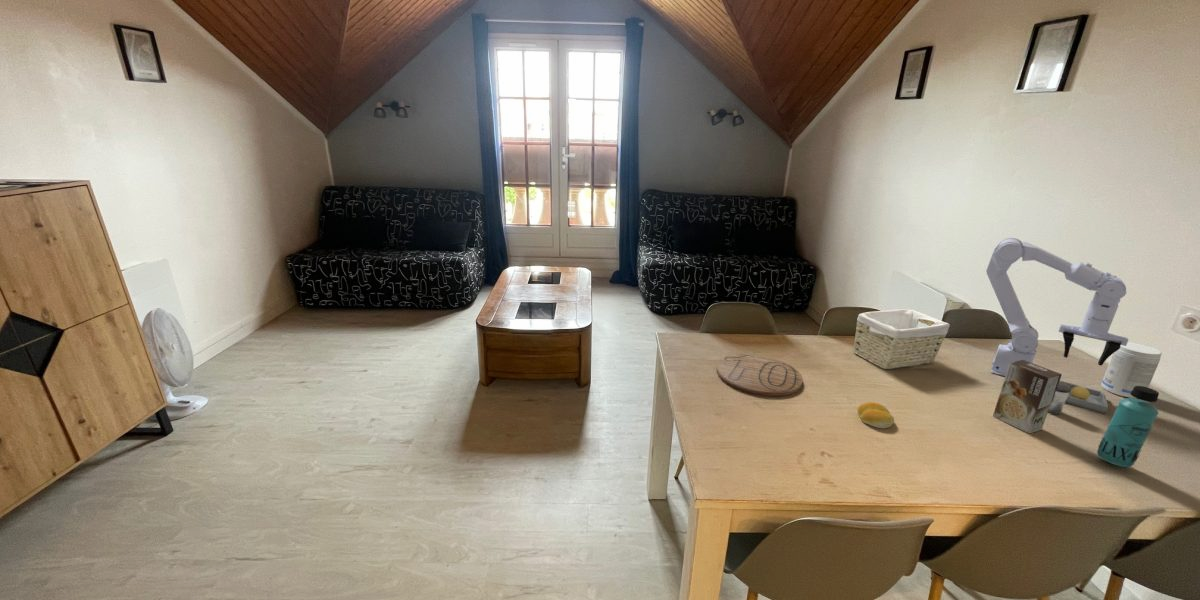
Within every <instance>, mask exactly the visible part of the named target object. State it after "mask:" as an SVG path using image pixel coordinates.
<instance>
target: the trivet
mask: <svg viewBox="0 0 1200 600" xmlns="http://www.w3.org/2000/svg"><path fill="white" fill-rule="evenodd" d="M716 374H717V376H718V378H719V379H720V380H721V381H723V383H725V384H726V385H727V386H729V387H731V388H733V389H736V390H738V391H740V392H743V393H745V394H749V395H754V396H759V397H766V398H767V397H769V398H782V397H787V396H791V395H794V394H796V393H798V391H800V390H801V388H802V386H803V375H802V373H800V372H799V371H798V370H797V369H796V368H794V367H793V365H791V364H789V363H786V362H785V361H783V360H779V359H777V358H774V357H771V356H766V355H762V354H757V353H735V354H731V355H730V354H729V355H726V356H724V357H722V358H721V359H719V361H718V362H717V365H716Z"/></svg>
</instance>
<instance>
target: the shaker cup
mask: <svg viewBox="0 0 1200 600" xmlns="http://www.w3.org/2000/svg"><path fill="white" fill-rule="evenodd" d="M1060 381H1061V380H1060ZM1060 381H1059V384H1058V386H1057V389H1056V392H1055V394H1054V397H1053V400H1052V403H1051V405H1050V408H1049V411H1048V414H1050V415H1054V416H1055V415H1056V416H1059V415H1061V414H1062V412H1063V409H1064V407H1065V404H1066V403H1065V402H1066V399H1067V397H1068V394H1069V392H1070V391H1071V388H1072V387H1071V386H1070V385H1068V384H1066V383H1063V382H1060Z"/></svg>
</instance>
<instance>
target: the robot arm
mask: <svg viewBox="0 0 1200 600" xmlns="http://www.w3.org/2000/svg"><path fill="white" fill-rule="evenodd" d="M1021 258H1022V259H1021ZM1020 259H1021V261H1022V262H1027V261H1028V262H1029V261H1035V262H1038V263H1041V264H1042V265H1045V266H1046V267H1049V268H1052V269H1054V270H1057V271H1059V272H1061V273H1063V274H1064V277H1065V278H1064V279H1066V280H1068V281H1070V282H1072V283H1074V284H1076V285H1077V286H1080V287H1082V288H1084V289H1087V290H1089V291H1094V292H1095V293H1094V294H1093V297H1092V299H1091V300H1090V303H1089V305H1088V308H1087V311H1086V313H1085V316H1084V319H1083V321H1082V322H1081V325H1080V326H1073V325H1066V324H1060V326H1059V328H1058V333H1062V337H1063V341H1064V351H1063V352H1064V353H1063V357H1064V358H1068V356H1069V353H1070V350H1071V349H1070V348H1071V347H1072V345H1073V342H1074V339H1075V338H1074V337H1075V336H1080V337H1083V338H1084V337H1085V338H1088V339H1095V340H1099V341H1104V342H1105V345H1104V348H1103V351H1102V353H1101V355H1100V357H1099V359H1098V362H1097V365H1098V366H1100V367H1101V366H1103V364H1105V362H1106V361H1107V359H1109V358H1110V357H1112V354H1113V353H1114V352H1116V351H1117V350H1119V349H1120V347H1121V346H1120V345H1124V346H1126V345H1127V342H1129V338H1128V337H1125V336H1120V335H1118V334H1113V333H1109V330H1110V327H1111V325H1112V323H1113V321H1114V318H1115V315H1116V313H1117V311H1118V308H1119V303H1120V302H1121V299H1122V298H1123V297H1125V296H1126V295H1127V287H1126V284H1125V282H1124V281H1123V280H1122V279H1121V278H1120V277H1118V276H1116V275H1113V274H1111V272H1103V271H1101V270H1099V269H1097V268H1094V267H1092V266H1093V264H1091V263H1089V262H1086V263H1083V262H1076V263H1075V262H1073V263H1071V262H1070V261H1067V260H1066V259H1065V258H1062V257H1060V256H1058V255H1055V254H1053V253H1052V252H1050V251H1047V250H1046V249H1043V248H1041V247H1039V246H1037V245H1034V244H1032V243H1030V242H1028V241H1027V242H1026V241H1023V242H1022V240H1020V239H1019V238H1015V237H1008V238H1004V239H1003V240H1001V241H1000V242H999V243H998V244H997V245H996V247H995V248H994V249H993V251H992V253H991V256H990V259H989V262H988V265H987V268H986V276H987V278H988V279H989V282H990V284H991V287H992V289H993V291H994V293H995V296H996V298H997V300H998V302H999V305H1000V307H1001V309H1002V312H1003V315H1004V316H1005V319H1006V321H1007V323H1008V326H1009V331H1010V334H1011V341H1010V342H1008V343H1007V344H998V347H997V349H996V353H995V356H994V359H992V361H991V370H990V372H991V373H992V374H995V375H998V376H999V375H1000V376H1003V377H1006V374H1007V371H1008V367H1009V364H1010V363H1014V362H1015V361H1020V360H1025V361H1028V362H1030V363H1033V362H1034V360H1035V357H1036V354H1037V350H1036V349H1037V348H1038V346H1039V332H1038V330H1037V329H1036V328H1034V327H1033V326H1032V325H1031V323H1030V321H1029V319H1028V318H1027V316H1026V313H1025V312H1024V310H1023V307H1022V305H1021V302H1020V301H1019V297H1018V296H1017V293H1016V291H1015V289H1014V286H1013V285H1012V282H1011V280H1010V277H1009V276H1008V271H1009V269H1010V267H1012V265H1013V264H1014V263H1016V262H1017V261H1019V260H1020Z"/></svg>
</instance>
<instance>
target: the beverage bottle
mask: <svg viewBox="0 0 1200 600" xmlns="http://www.w3.org/2000/svg"><path fill="white" fill-rule="evenodd" d="M1130 394H1131V395H1132V396H1133V397H1135V398H1128V397H1126V398H1123V399H1120V400H1119V401H1118V406H1117V407H1116V409H1115V411H1114V414H1113V416H1112V418H1111V420H1110V422H1109V425H1107V426H1106V428H1107V429H1106V431H1105V432H1104V435H1103V436H1102V437H1101V440H1100V442H1099V444H1098V447H1097V450H1096V454H1097V456H1098V457H1099V458H1100V459H1101V460H1103V461H1106V462H1108V463H1110V464H1112V465H1116V466H1119V467H1122V468H1130V467H1133V466H1134V464H1135V463H1136V462H1137V460H1138V458H1139V457H1140V453H1141V451H1142V448H1143V446H1144V444H1145V442H1146V439H1147V438H1148V437H1149V434H1150V432H1151V430H1152V429H1153V428H1152V426H1153V424H1154V422H1155V421H1156V419H1157V416H1158V415H1159V411H1158V409H1157V408H1156V407H1155V405H1153V404H1152V403H1156V402H1157V401H1158V397H1159V395H1160V392H1159V391H1157V390H1156V389H1153V388H1150V387H1144V386H1135V387H1134V388H1133V390H1132V391H1131V393H1130Z"/></svg>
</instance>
